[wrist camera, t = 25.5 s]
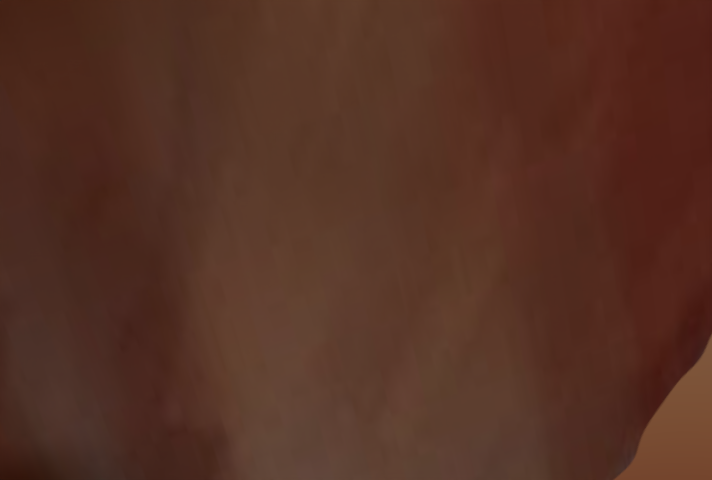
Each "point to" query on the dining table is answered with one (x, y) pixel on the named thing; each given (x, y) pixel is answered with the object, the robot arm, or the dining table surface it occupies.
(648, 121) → the dining table surface
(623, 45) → the dining table surface
